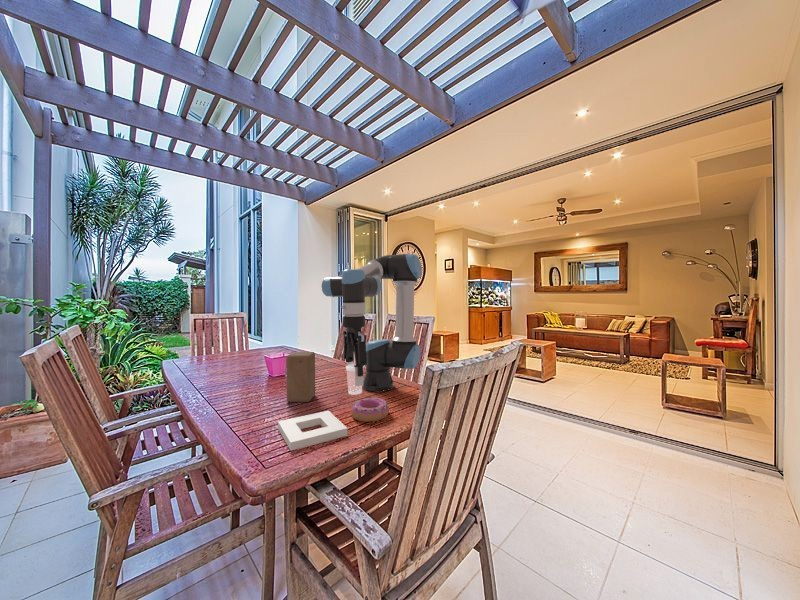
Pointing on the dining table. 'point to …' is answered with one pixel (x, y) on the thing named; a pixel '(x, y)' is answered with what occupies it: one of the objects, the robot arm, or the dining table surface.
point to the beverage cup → (352, 380)
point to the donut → (370, 409)
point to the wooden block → (300, 376)
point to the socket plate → (300, 440)
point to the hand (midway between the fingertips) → (354, 382)
